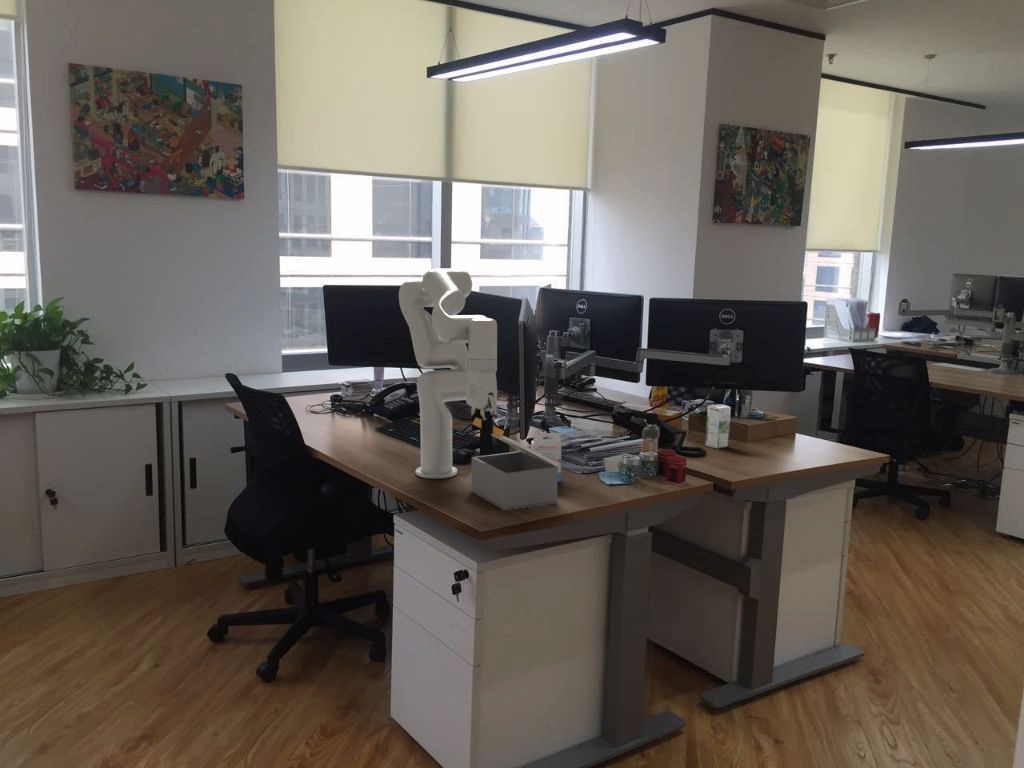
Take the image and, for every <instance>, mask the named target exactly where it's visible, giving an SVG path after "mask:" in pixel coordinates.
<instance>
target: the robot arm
mask: <svg viewBox="0 0 1024 768" xmlns="http://www.w3.org/2000/svg"><path fill="white" fill-rule="evenodd" d="M472 281H473V280H472V277H471V275H470V273H469V272H468V271H467V270H465V269H463V268H433V269H430V270H429V271H426V273H425V274H424V275H423V276H422V278H416V279H409V280H407V281H404V282H403V283H402V284H401V285H400V287H399V290H398V301H399V307H400V310H401V312H402V313H401V314H402V315H403V317H404V319H405V321H406V323H407V326H408V327H409V328H408V329H409V332H410V336H411V340H412V346H413V351H414V356H415V360H416V363H417V365H418V366H419V367H420V368H421V369H435V370H428V371H425V372H423V373H421V374H420V375H419V376H418V378H417V381H416V390H417V395H418V401H419V402H418V403H419V416H420V421H419V422H420V424H419V425H420V426H419V427H420V466H419V467H418V468H416V469H415V475H416V476H418V477H420V478H424V479H432V480H433V479H434V480H435V479H447V478H452V477H454V476H457V474H458V468H456V467H455V466H453V416H452V413H451V412H450V410H449V409H448V408H447V406H446V405H445V403H447V402H455V401H456V402H457V401H465V402H466V404H467V405H468V406H469V408H470V409H471V410H470V411H471V412H470V415H471V431H473V432H474V431H480V432H481V433H480V434H481V436H486V435H487V436H488V435H489V436H491V435H490V434H493V426H494V419H495V416H496V415H495V414H496V413H497V411H498V409H497V406H498V405H497V404H498V386H497V384H498V383H497V382H498V381H497V371H498V323H497V321H496V320H495V319H493V318H491V317H490V318H489V317H487V316H485V315H481V314H472V315H471V314H468V315H467V314H462V315H461V314H460V313H461V311H463V310H464V307H465V306H466V305H465V304H466V298H467V297H468V296H470V294H471V291H473V290H472V289H473V282H472ZM425 308H433V309H432V313H431V314H430V313H429V312H428V311H427V310H425ZM458 314H460V315H458ZM466 344H467V345H468V347H467V345H466ZM445 368H449V369H445ZM436 369H437V370H436ZM475 417H476V418H479V419H481V428H479V427H477V426H475V425H473V424H472V423H473V421H474V419H475Z"/></svg>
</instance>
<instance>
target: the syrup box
mask: <svg viewBox="0 0 1024 768" xmlns="http://www.w3.org/2000/svg"><path fill="white" fill-rule="evenodd" d="M731 410H732V407H731V406H729V405H726V404H718V403H717V404H712V405H707V410H706V411H707V414H706V427H705V441H704V442H705V443H704V446H707V447H710V448H713V449H722V448H723V449H724V448H727V447H729V442H730V441H729V440H730V426H731Z"/></svg>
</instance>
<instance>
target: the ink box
mask: <svg viewBox="0 0 1024 768" xmlns="http://www.w3.org/2000/svg"><path fill="white" fill-rule="evenodd" d="M547 437H549V438H547ZM545 438H547V439H545ZM561 439H562V433H560V432H555V433H553V432H551V433H550V432H547V433H533V440H531V442H530V443H531V444H530V449H532V450H534V451H535V452H537V453H539V454H541V455H543V456H545V457H547V458H549V459H551V460H552V461H554V462H556V463H558V464H559V465H558V482H557V483H560V482H561V481H562V440H561ZM531 456H532V455H531ZM533 457H534V456H533ZM536 458H537V457H536ZM538 459H539V458H538ZM540 460H541V459H540ZM545 462H546V461H545ZM547 463H548V462H547ZM552 465H553V464H552ZM554 466H555V465H554ZM556 467H557V466H556Z"/></svg>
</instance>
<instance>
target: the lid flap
mask: <svg viewBox="0 0 1024 768" xmlns="http://www.w3.org/2000/svg"><path fill="white" fill-rule="evenodd" d="M472 424H473V425H475V426H477V427H479V428H481V419H479V418H476V417H475V419H474V421H473V423H472V422H471V425H472ZM504 432H505V431H504V430H503V429H501V428H498V427H497V426H495V425H493V434H490V435H489V436H492V437H494V438H496V439H498V440H500V441H501V442H503V443H505V444H507V445H509V446H511V447H513V448H515V449H516V450H519V451H522V452H524V453H527V454H529V455H532V456H534V457H537V458H539V459H541V460H543V461H546V462H548V463H550V464H553V465H555V466H557V467H558V465H559V464H558V463H556V462H554V461H552V460H551V459H549V458H547V457H545V456H543V455H541V454H539V453H537V452H535V451H534V450H532V449H531V447H528V446H526V445H524V444H522V443H520V442H518V441H516V440H514V439H512V438H510V437H507V436H505V435H504Z"/></svg>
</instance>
